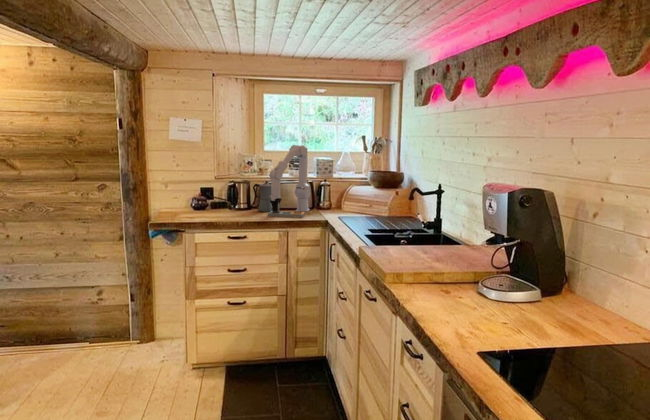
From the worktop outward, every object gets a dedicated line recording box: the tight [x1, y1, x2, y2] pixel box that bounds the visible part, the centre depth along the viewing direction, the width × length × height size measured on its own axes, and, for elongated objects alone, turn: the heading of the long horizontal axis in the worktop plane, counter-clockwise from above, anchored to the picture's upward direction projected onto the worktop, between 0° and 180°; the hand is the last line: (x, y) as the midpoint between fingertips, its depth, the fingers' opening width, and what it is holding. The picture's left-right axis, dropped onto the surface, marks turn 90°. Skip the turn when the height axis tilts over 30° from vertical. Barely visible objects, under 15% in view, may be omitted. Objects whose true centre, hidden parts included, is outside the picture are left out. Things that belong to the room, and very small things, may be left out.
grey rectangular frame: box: [267, 210, 306, 218], centre depth 302 cm, size 8×22×2 cm, turn 82°
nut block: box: [271, 203, 280, 213], centre depth 302 cm, size 4×4×8 cm
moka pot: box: [252, 180, 272, 213], centre depth 317 cm, size 10×15×20 cm, turn 89°
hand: (275, 210), depth 303 cm, fingers closed on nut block, 4 cm apart
